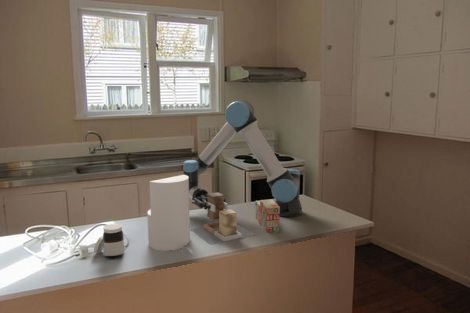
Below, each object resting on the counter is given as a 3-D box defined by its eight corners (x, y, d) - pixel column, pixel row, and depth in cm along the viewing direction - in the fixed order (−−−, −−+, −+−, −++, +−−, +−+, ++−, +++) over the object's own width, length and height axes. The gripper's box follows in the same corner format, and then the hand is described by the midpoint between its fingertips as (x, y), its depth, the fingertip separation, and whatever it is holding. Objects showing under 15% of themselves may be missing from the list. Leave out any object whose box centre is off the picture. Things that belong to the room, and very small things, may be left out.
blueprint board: (232, 223, 192) (232, 218, 192) (255, 236, 175) (255, 231, 175) (190, 231, 182) (190, 226, 181) (210, 246, 164) (210, 241, 164)
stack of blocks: (255, 218, 200) (255, 194, 197) (267, 217, 201) (267, 194, 199) (266, 233, 179) (266, 207, 177) (279, 232, 180) (280, 206, 178)
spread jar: (124, 259, 152) (123, 230, 150) (93, 262, 149) (91, 233, 147) (124, 247, 164) (122, 220, 162) (94, 250, 161) (93, 222, 159)
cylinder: (198, 242, 169) (197, 177, 164) (164, 254, 157) (162, 185, 152) (173, 232, 181) (172, 171, 176) (140, 242, 169) (137, 177, 164)
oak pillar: (230, 232, 177) (230, 209, 176) (236, 236, 173) (236, 212, 171) (219, 235, 175) (219, 210, 173) (225, 239, 170) (225, 214, 168)
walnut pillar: (218, 215, 186) (218, 192, 184) (223, 218, 181) (223, 195, 179) (207, 216, 183) (207, 193, 181) (212, 220, 178) (212, 196, 176)
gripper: (215, 200, 201) (238, 213, 182) (181, 205, 192) (201, 219, 173) (215, 186, 200) (239, 197, 180) (181, 190, 191) (201, 202, 171)
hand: (220, 208), depth 176 cm, fingers closed on walnut pillar, 5 cm apart
